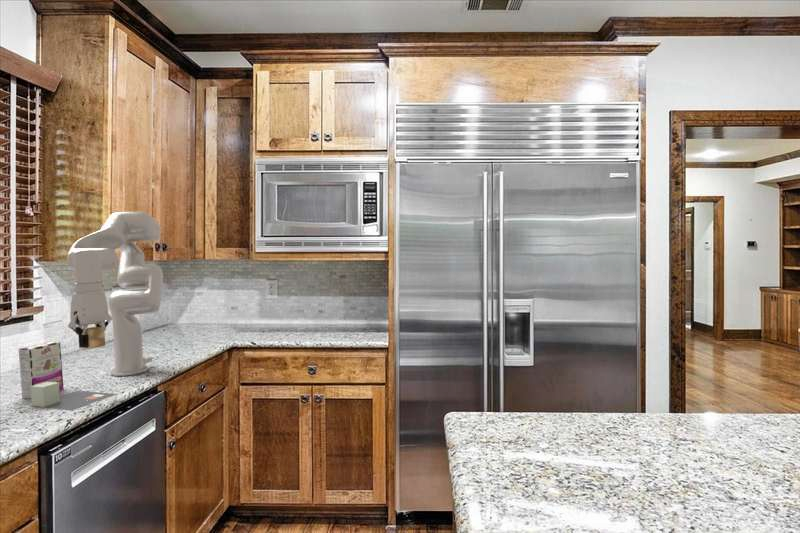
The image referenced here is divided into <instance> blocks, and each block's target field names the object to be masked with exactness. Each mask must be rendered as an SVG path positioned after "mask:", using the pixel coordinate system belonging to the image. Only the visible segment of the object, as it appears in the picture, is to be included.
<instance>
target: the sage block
mask: <svg viewBox="0 0 800 533" xmlns="http://www.w3.org/2000/svg"><path fill="white" fill-rule="evenodd" d="M60 393H61V392H60V390H59V383H57V382H44V383H40V384H37V385H33V386H31V398H30V399H31V405H32V406H40V407H39V408H42V407H45V406H48V405H51V404H54V403H57V402H60V396H61V395H60ZM32 406H31V407H32Z"/></svg>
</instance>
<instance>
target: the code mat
mask: <svg viewBox="0 0 800 533" xmlns="http://www.w3.org/2000/svg"><path fill="white" fill-rule="evenodd" d="M94 394H95V395H94ZM116 395H118V393H109V392H98V391H97V392H96V391H85V390H74V391H72V392H69V393H65V394H63V395H60V402H57V403H54V404H51V405H48V406H45V407H40V406H32V404H31V405H30V407H33V408H44V409H52V410H61V411H62V410H63V411H74V410H76V409H79V408H82V407H86V406H88V405H91V404H94V403H97V402H100V401H102V400H105V399H108V398H110V397H114V396H116ZM87 400H88V401H87Z"/></svg>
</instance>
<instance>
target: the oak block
mask: <svg viewBox="0 0 800 533" xmlns="http://www.w3.org/2000/svg"><path fill="white" fill-rule="evenodd" d="M105 333H106V330H105V331H104V327H95V326H88V327H87V332H86V334H87V335H88V343H89V346H88V347H79V346H78V348H79V349H84V350H85V349H86V350H89V349H90V350H92V349H97V348H102V347H105V346H106V334H105ZM77 336H78V338H79V335H77Z"/></svg>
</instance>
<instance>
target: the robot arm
mask: <svg viewBox="0 0 800 533" xmlns="http://www.w3.org/2000/svg"><path fill="white" fill-rule="evenodd" d="M161 235H162V228H161V225H160V222H158V221H157V220H156V218H154V217H153V216H152V215H151V214H148V213H147V212H144V211H117V212H113V213H112V214H110V215H109V217H108V218H107V219H106V221H105V223H104V224H103V225H102V227H101V229H100V230H97V231H95V232H93V233H90V234H88V235H86V236H83V237H81V238H79V239H78V240H77V241H75V242H74V243H73V245H72V246H71V248H70V250H69V251H68V253H67V256H66V264H67V266H68V268H69V269H70V270H72V271H73V279H74V293H72V295H71V300H70V314H69V315H70V317H69V318H70V321H69V323H68V325H67V327H68V328H69V329H70V330H72V331H73V332H75V335H77V336H78V335H79V337H78V348H79V347H88V346H89V343H88V335H87V334H86V332H87V327H89V325H94V327H104V331H105V332H106V331H107V327H108V326H109V323H111V321H112V335H113V336H112V338H113V356H114V369H112V370H110V375H111V376H113V377H127V376H133V375H139V374H143V373H145V372H147V371H148V370H149V367H148V365H147V363H151V362H153V357H151V356H149V357H144V354H143V353H144V351H143V334H142V333H143V332H142V331H143V330H142V329H143V328H142V324H141V322H140V320H139V319H138V318H137V317H136V315H151V314H156V313H157V312H159V310H160V308H161V305H162V304H161V301H162V295H163V294H162V293H163V283H164V274H163V273H164V272H163V270H162V267H161V266H160V265H158V264H156V263H155V264H154V263H145V259H146V257H145V253H144V251H143V250H142V249H141V247H140V246H138V245H137V244H136V243H135V242H155V241H158V240H159V239H160V238H161ZM116 249H118V251H119V254H120V255H118V253H117V252H116V251H115V250H116ZM119 256H120V258H119ZM117 266H118V270H117V285H118V286H119V288H122V289H119V290H116V291H114V292H112V293H111V294H110V295H109V297H108V300H107V297H106V293H105V291H104V287H105V286H106V285H105V283H104V282H103V272H105V271H112V270H114V269H115V268H116V267H117ZM109 311H110V314H111V315H110V314H109Z"/></svg>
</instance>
